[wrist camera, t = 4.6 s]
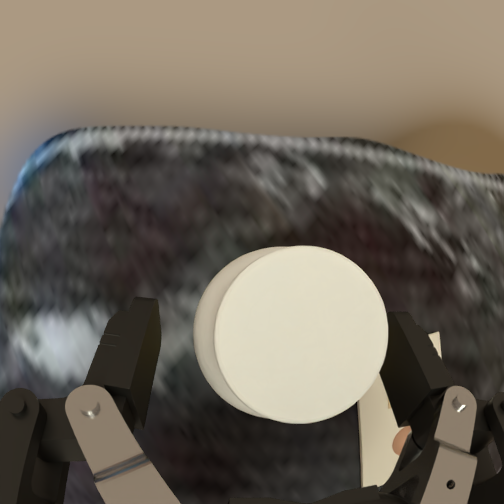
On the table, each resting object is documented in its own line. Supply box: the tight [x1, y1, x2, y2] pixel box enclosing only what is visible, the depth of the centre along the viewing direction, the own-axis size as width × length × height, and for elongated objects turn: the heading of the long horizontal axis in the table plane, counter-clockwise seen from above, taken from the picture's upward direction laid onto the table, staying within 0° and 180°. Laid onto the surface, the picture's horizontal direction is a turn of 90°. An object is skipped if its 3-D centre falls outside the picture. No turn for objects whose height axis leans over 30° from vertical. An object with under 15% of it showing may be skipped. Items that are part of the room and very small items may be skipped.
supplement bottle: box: [193, 246, 388, 424], centre depth 11 cm, size 5×5×10 cm
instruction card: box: [357, 332, 441, 488], centre depth 15 cm, size 6×9×1 cm, turn 7°
